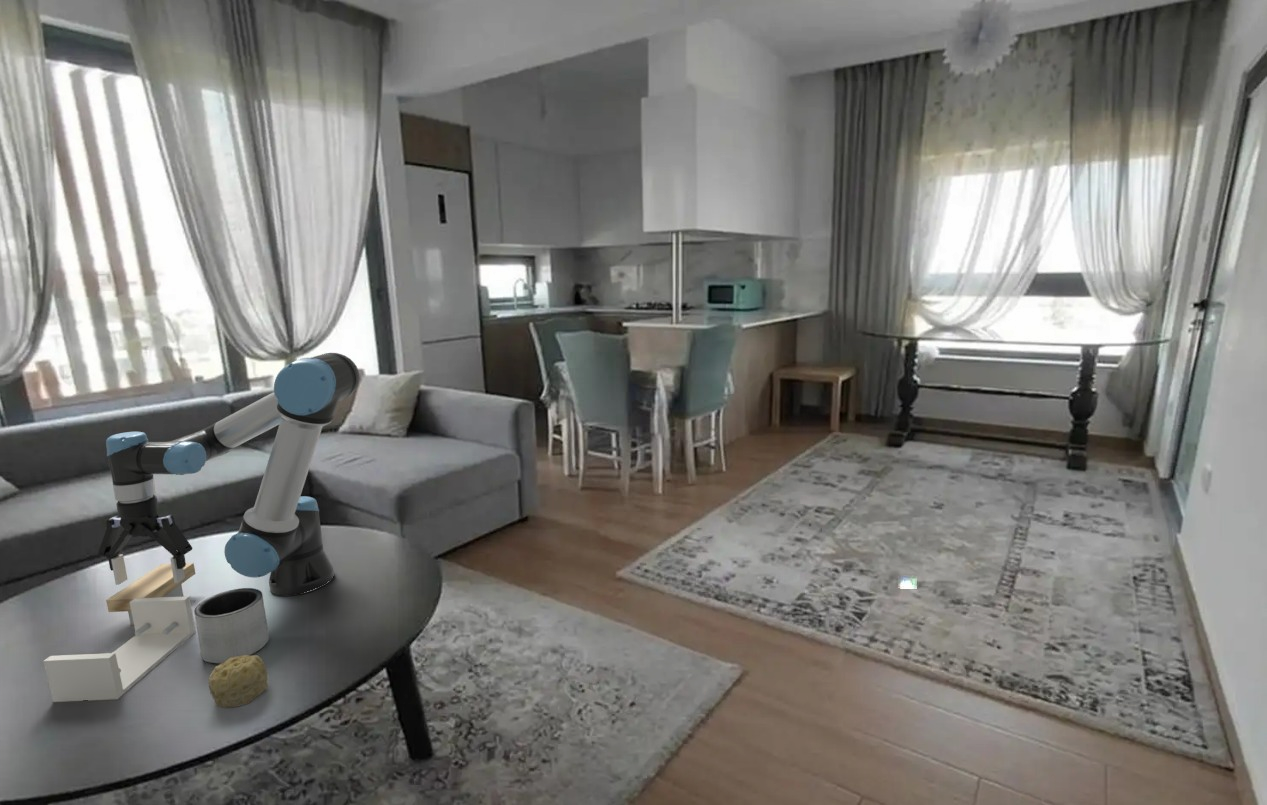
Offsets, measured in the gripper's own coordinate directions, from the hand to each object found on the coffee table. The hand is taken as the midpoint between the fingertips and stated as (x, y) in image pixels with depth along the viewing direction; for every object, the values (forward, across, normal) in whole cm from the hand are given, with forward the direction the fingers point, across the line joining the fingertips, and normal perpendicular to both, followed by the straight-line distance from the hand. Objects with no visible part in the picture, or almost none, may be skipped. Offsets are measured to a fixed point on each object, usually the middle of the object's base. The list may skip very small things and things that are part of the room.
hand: (150, 581), depth 150 cm
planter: (+7, -30, +18) cm, 35 cm away
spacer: (+8, -1, 0) cm, 8 cm away
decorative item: (+7, -40, +34) cm, 53 cm away
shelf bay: (+8, -10, +22) cm, 25 cm away
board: (+3, 0, 0) cm, 3 cm away
